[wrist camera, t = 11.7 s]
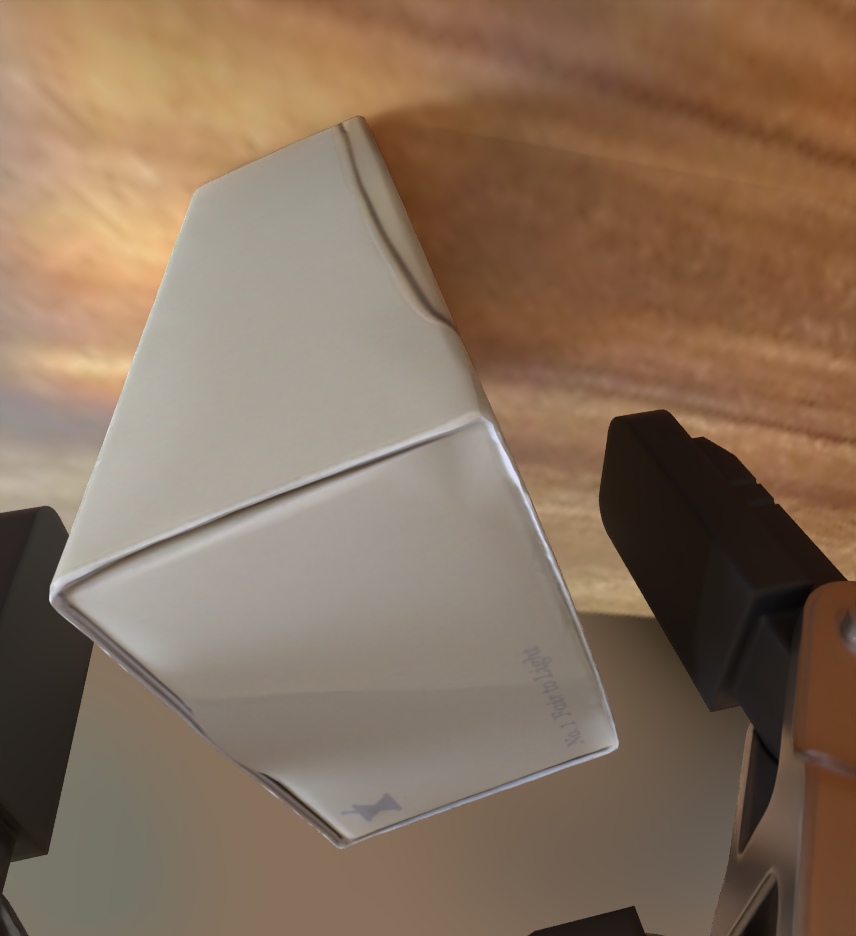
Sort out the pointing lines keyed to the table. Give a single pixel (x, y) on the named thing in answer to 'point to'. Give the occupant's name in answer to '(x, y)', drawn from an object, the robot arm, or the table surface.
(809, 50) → the table surface
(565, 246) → the table surface
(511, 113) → the table surface
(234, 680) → the cosmetic box
